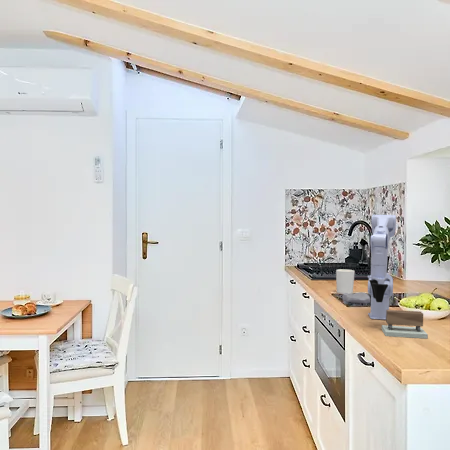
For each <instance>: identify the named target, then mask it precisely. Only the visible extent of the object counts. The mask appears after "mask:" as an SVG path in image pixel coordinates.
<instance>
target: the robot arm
mask: <svg viewBox="0 0 450 450" xmlns="http://www.w3.org/2000/svg"><path fill="white" fill-rule="evenodd" d="M370 222H371V235H370V241H369V242H370V253H371V256H370V258H371V260H370V261H371V262H370V275H367V279H368V281H367V294H368V295H370V312H368V313H367V315H368V316H369V318H370V319H371V320H385V321H386V310H390V297H392V296H393V295H394V279H393V276H391V274H389V273H388V272H387V271H388V256H389V253H388V252H389V244H390V240H391V238H392V237H394V236H395V234H396V227H397V225H396V224H397V216H396V214H374V213H373V214H372V216H371V221H370Z"/></svg>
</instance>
